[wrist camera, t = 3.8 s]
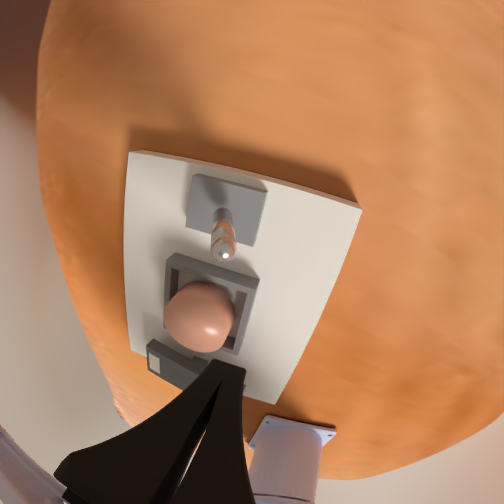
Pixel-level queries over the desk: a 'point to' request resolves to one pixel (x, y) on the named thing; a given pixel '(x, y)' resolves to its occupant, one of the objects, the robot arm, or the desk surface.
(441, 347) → the desk surface
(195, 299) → the push button
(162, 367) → the rocker switch
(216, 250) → the toggle lever
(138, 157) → the switch panel
